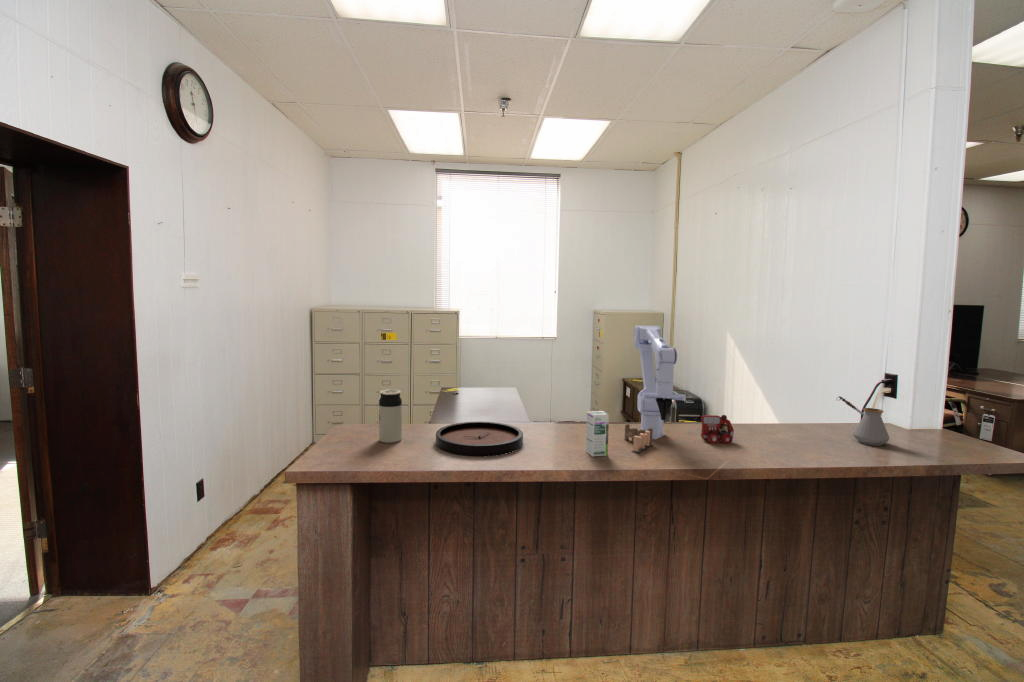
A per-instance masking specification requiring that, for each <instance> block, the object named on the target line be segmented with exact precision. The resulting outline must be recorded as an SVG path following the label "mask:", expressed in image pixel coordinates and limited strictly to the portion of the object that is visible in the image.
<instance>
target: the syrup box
mask: <svg viewBox="0 0 1024 682" xmlns="http://www.w3.org/2000/svg"><path fill="white" fill-rule="evenodd" d="M609 419H610V414H609V413H608V412H606V411H604V410H598V411H597V410H593V411H587V412H586V428H585V429H586V432H585V433H586V437H585V443H586V444H585V452H586V453H587V454H588V455H589V454H590V455H589V456H591V457H592V458H595V457H605V456H606V457H607V456H608V455H609V429H610V428H609V426H610V425H609V424H610V420H609Z"/></svg>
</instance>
